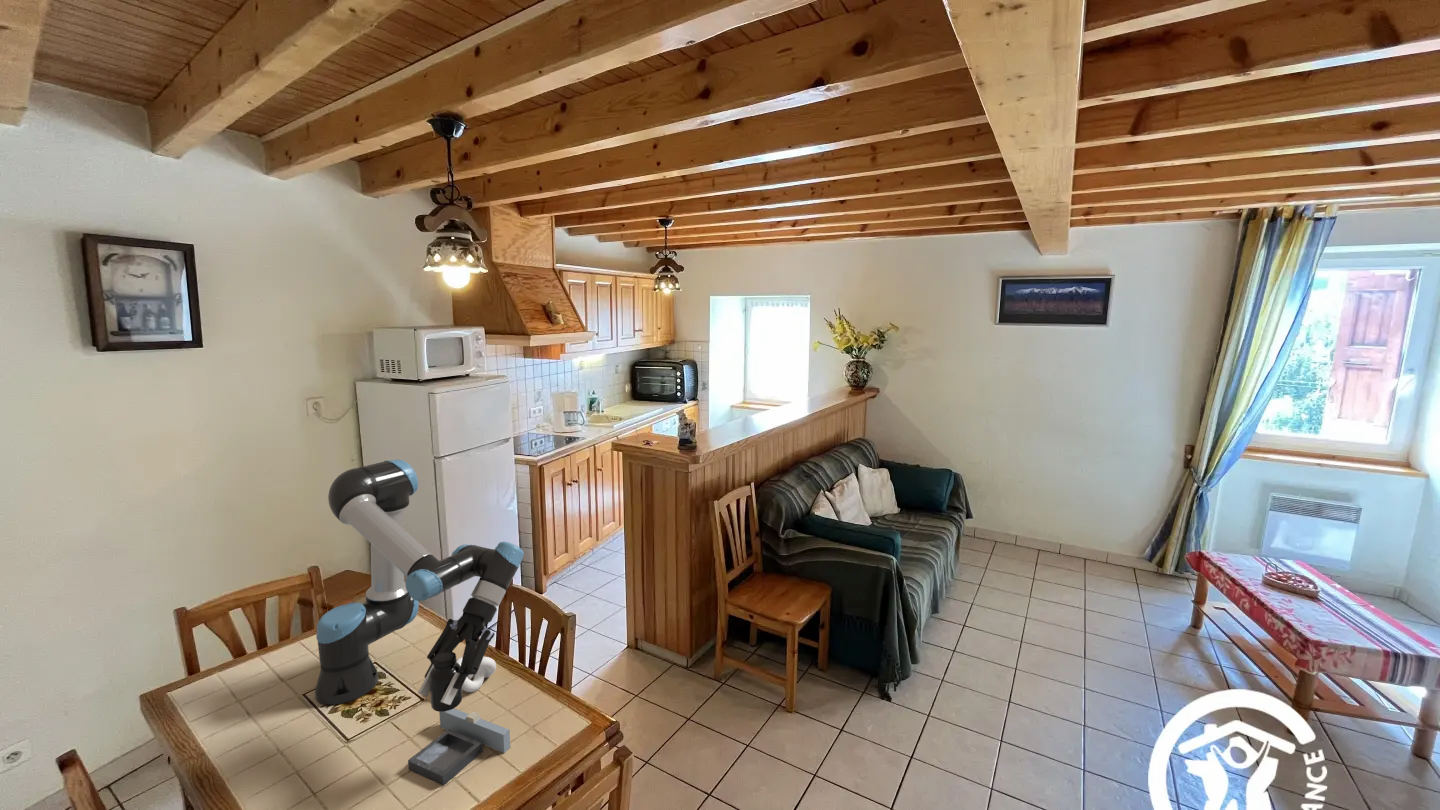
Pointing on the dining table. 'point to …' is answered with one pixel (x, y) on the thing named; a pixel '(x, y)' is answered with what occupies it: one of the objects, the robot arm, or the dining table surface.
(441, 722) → the door edge plank
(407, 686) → the dining table surface
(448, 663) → the supplement bottle
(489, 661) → the white trefoil knot
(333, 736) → the dining table surface
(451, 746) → the keeper frame
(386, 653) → the dining table surface
